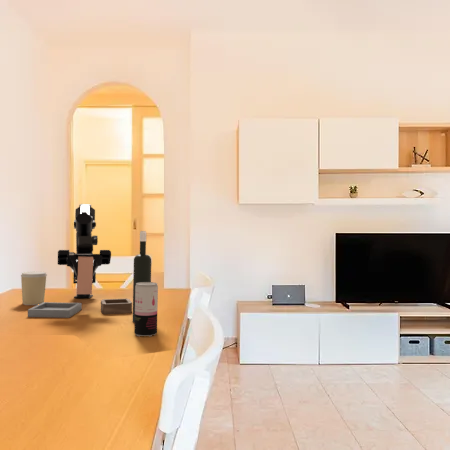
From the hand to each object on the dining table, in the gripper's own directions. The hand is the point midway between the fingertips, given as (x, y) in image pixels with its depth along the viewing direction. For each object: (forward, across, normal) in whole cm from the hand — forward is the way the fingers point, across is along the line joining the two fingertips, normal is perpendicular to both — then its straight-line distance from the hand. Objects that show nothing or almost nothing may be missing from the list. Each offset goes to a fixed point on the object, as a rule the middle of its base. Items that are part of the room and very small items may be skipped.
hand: (85, 275), depth 162 cm
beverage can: (+35, +16, -16) cm, 42 cm away
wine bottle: (+23, +17, -4) cm, 29 cm away
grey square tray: (+8, -10, +11) cm, 17 cm away
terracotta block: (+4, 0, +6) cm, 7 cm away
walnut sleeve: (+9, +11, +10) cm, 18 cm away
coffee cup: (-7, -18, +26) cm, 33 cm away
